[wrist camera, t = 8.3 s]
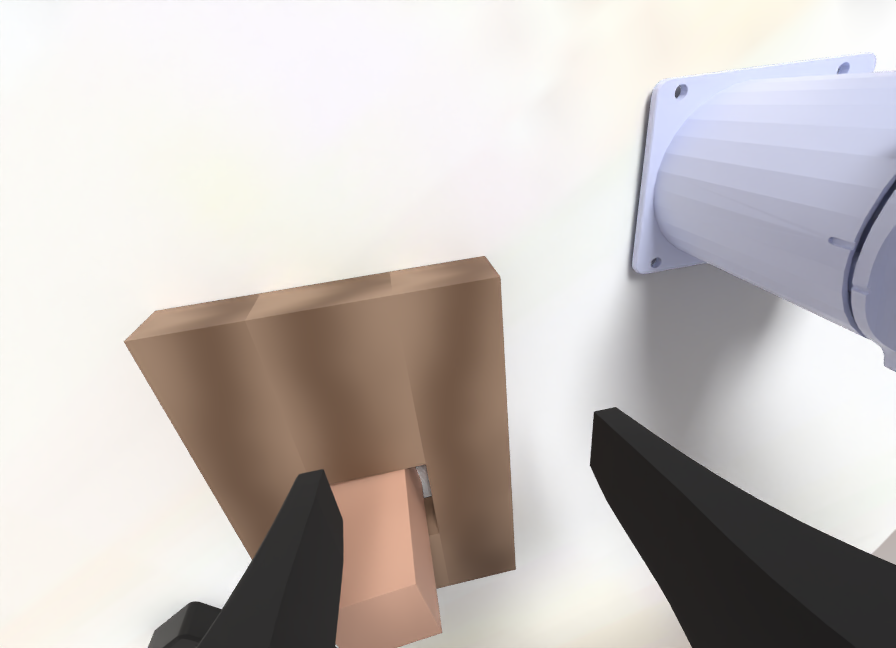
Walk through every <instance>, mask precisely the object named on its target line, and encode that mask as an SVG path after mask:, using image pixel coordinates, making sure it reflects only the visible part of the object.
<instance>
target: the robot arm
mask: <svg viewBox="0 0 896 648" xmlns="http://www.w3.org/2000/svg"><path fill="white" fill-rule="evenodd" d="M875 65H876V56H875V55H874V53H870V52H868V53H858V54H851V55H843V56H836V57H828V58H820V59H813V60H805V61H797V62H790V63H782V64H775V65H767V66H759V67H752V68H744V69H736V70H729V71H721V72H714V73H706V74H698V75H691V76H683V77H675V78H668V79H664V80H661V81H660V82H658V83H657V84H656V86H655V87H654V89H653V92H652V95H651V104H650V113H649V121H648V130H647V138H646V147H645V156H644V164H643V173H642V182H641V190H640V199H639V207H638V216H637V225H636V233H635V242H634V251H633V259H632V268H633V269H634V270H635V271H636V272H638V273H640V274H648V273H653V272H659V271H664V270H670V269H676V268H681V267H687V266H693V265H698V264H704V263H709V264H711V265H713V266H715V267H717V268H719V269H721V270H723V271H725V272H728V273H730V274H732V275H734V276H736V277H738V278H740V279H742V280H745V281H747V282H749V283H751V284H753V285H755V286H757V287H759V288H761V289H764V290H766V291H768V292H770V293H772V294H774V295H776V296H778V297H780V298H783V299H785V300H787V301H789V302H791V303H793V304H795V305H797V306H799V307H802V308H804V309H806V310H808V311H810V312H812V313H814V314H816V315H818V316H821V317H823V318H825V319H827V320H829V321H831V322H833V323H835V324H837V325H840V326H842V327H844V328H846V329H848V330H850V331H852V332H854V333H856V334H859V335H861V336H863V337H865V338H868V339H870V340H872V341H873V342H875V343H876V344H877V345H879V346H880V347H881V348H882V350H883V353H884V366H885V367H887V368H889V369H891V370H893V371H895V372H896V71H884V72H873V71H874V68H875ZM839 67H840V70H839V72H838V74H837V71H838V69H839ZM678 86H680V87H681V92H680V95H679V96H678V98H676V97H675V90H676V88H677V87H678ZM654 258H656V261H655V263H654V264H652V265H651V262H652V260H653V259H654ZM590 466H591V469H592V471H593V473H594V475H595V477H596V479H597V482H598V484H599V486H600V488H601V490H602V492H603V494H604V496H605V498H606V500H607V502H608V504H609V505H610V507H611V509H612V510H613V512H614V514H615V515H616V517H617V519H618V520H619V522H620V523H621V525H622V527H623V528H624V530H625V532H626V533H627V535H628V536H629V538H630V540H631V541H632V543H633V544H634V546H635V548H636V549H637V551H638V552H639V554H640V556H641V557H642V559H643V560H644V562H645V564H646V565H647V567H648V568H649V570H650V572H651V573H652V575H653V576H654V578H655V580H656V581H657V583H658V584H659V586H660V588H661V590H662V591H663V593H664V595H665V597H666V598H667V600H668V602H669V604H670V605H671V607H672V609H673V611H674V613H675V615H676V617H677V619H678V621H679V623H680V625H681V627H682V629H683V631H684V633H685V635H686V637H687V639H688V641H689V642H690V644H691V646H692V648H896V565H895V564H892V563H890V562H888V561H885V560H883V559H881V558H878V557H876V556H874V555H871V554H869V553H867V552H864V551H862V550H860V549H858V548H856V547H854V546H851V545H849V544H847V543H845V542H843V541H841V540H838V539H836V538H834V537H832V536H830V535H828V534H825V533H823V532H821V531H819V530H817V529H815V528H813V527H811V526H809V525H807V524H805V523H803V522H801V521H799V520H797V519H795V518H793V517H791V516H789V515H787V514H785V513H783V512H782V511H780V510H778V509H776V508H774V507H772V506H770V505H768V504H766V503H765V502H763V501H761V500H759V499H757V498H755V497H754V496H752V495H750V494H748V493H746V492H745V491H743V490H741V489H740V488H738V487H736V486H735V485H733V484H731V483H730V482H728V481H726V480H725V479H723V478H721V477H719V476H718V475H716V474H714V473H713V472H711V471H710V470H708V469H706V468H705V467H703V466H702V465H700V464H699V463H697V462H695V461H694V460H692V459H691V458H689V457H688V456H686V455H685V454H683V453H682V452H680V451H679V450H677V449H676V448H674V447H673V446H671V445H670V444H668V443H667V442H665V441H664V440H662V439H661V438H659V437H658V436H657V435H655V434H654V433H652V432H651V431H649V430H648V429H646V428H645V427H644V426H642V425H641V424H639V423H638V422H636V421H635V420H634V419H632V418H631V417H629V416H628V415H626V414H625V413H623V412H622V411H621V410H619V409H618V408H616V407H614V408H609V409H605V410H600V411H595V412H594V419H593V432H592V445H591V458H590ZM343 563H344V539H343V518H342V516H341V513H340V510H339V508H338V505H337V503H336V500H335V497H334V495H333V492H332V490H331V487H330V484H329V482H328V479H327V477H326V474H325V471H324V469H320V470H316V471H311V472H306V473H301V474H299V475H298V476H297V477H296V479H295V481H294V483H293V485H292V487H291V489H290V491H289V493H288V495H287V497H286V499H285V501H284V503H283V505H282V507H281V509H280V511H279V512H278V514H277V516H276V518H275V520H274V522H273V524H272V526H271V527H270V529H269V531H268V533H267V535H266V536H265V538H264V540H263V542H262V544H261V545H260V547H259V549H258V551H257V552H256V554H255V556H254V558H253V560H252V561H251V563H250V565H249V566H248V568H247V570H246V571H245V573H244V575H243V576H242V578H241V580H240V581H239V583H238V584H237V586H236V588H235V589H234V591H233V592H232V594H231V596H230V597H229V599H228V601H227V602H226V604H225V605H224V607H223V609H222V610H221V612H220V613H219V615H218V616H217V618H216V619H215V621H214V622H213V624H212V625H211V627H210V628H209V630H208V631H207V633H206V634H205V636H204V637H203V639H202V640H201V641H200V643H199V644H198V646H197V647H196V648H335V643H336V633H337V623H338V614H339V604H340V594H341V584H342V574H343Z"/></svg>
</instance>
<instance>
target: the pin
mask: <svg viewBox="0 0 896 648" xmlns="http://www.w3.org/2000/svg"><path fill="white" fill-rule="evenodd" d="M330 487H331V490H332V492H333V495H334V497H335V500H336V503H337V505H338V508H339V510H340V513H341V516H342V518H343V539H344V563H343V574H342V584H341V594H340V604H339V614H338V623H337V633H336V645H337V646H338V647H339V648H397V647H400V646H403V645H406V644H409V643H412V642H415V641H418V640H421V639H425V638H428V637H431V636H434V635H437V634H440V633H442V627H441V620H440V613H439V605H438V598H437V591H436V584H435V576H434V569H433V562H432V555H431V547H430V540H429V533H428V526H427V519H426V511H425V504H424V497H423V490H422V482H421V479H420V477H419V475H418V472H417V470H416V468H415V467H411V468H407V469H402V470H397V471H392V472H388V473H383V474H378V475H374V476H369V477H364V478H360V479H355V480H350V481H345V482H341V483H336V484H331V485H330Z"/></svg>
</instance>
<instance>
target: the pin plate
mask: <svg viewBox="0 0 896 648" xmlns="http://www.w3.org/2000/svg"><path fill="white" fill-rule="evenodd" d="M124 343H125V344H126V346H127V348H128V350H129V351H130V353H131V355H132V356H133V358H134V360H135V361H136V363H137V365H138V367H139V368H140V370H141V372H142V373H143V375H144V377H145V378H146V380H147V382H148V384H149V385H150V387H151V389H152V390H153V392H154V394H155V395H156V397H157V399H158V401H159V402H160V404H161V406H162V407H163V409H164V411H165V412H166V414H167V416H168V418H169V419H170V421H171V423H172V424H173V426H174V428H175V429H176V431H177V433H178V435H179V436H180V438H181V440H182V441H183V443H184V445H185V446H186V448H187V450H188V452H189V453H190V455H191V457H192V458H193V460H194V462H195V463H196V465H197V467H198V469H199V470H200V472H201V474H202V475H203V477H204V479H205V480H206V482H207V484H208V486H209V487H210V489H211V491H212V492H213V494H214V496H215V497H216V499H217V501H218V503H219V504H220V506H221V508H222V509H223V511H224V513H225V514H226V516H227V518H228V520H229V521H230V523H231V525H232V526H233V528H234V530H235V531H236V533H237V535H238V537H239V538H240V540H241V542H242V543H243V545H244V547H245V548H246V550H247V552H248V554H249V555H250V557H251V559H252V560H253V558H254V556H255V554H256V552H257V551H258V549H259V547H260V545H261V544H262V542H263V540H264V538H265V536H266V535H267V533H268V531H269V529H270V527H271V526H272V524H273V522H274V520H275V518H276V516H277V514H278V512H279V511H280V509H281V507H282V505H283V503H284V501H285V499H286V497H287V495H288V493H289V491H290V489H291V487H292V485H293V483H294V481H295V479H296V477H297V476H298V475H299V474H301V473H306V472H311V471H316V470H320V469H324V471H325V474H326V477H327V479H328V482H329V484H330V485H331V484H336V483H341V482H345V481H350V480H355V479H360V478H364V477H369V476H374V475H378V474H383V473H388V472H392V471H397V470H402V469H407V468H411V467H416V466H421V465H425V464H426V468H427V473H428V478H429V483H430V488H431V493H432V496H431V497H426V498H424V504H425V511H426V519H427V526H428V533H429V540H430V547H431V555H432V562H433V569H434V576H435V584H436V589H437V588H441V587H445V586H449V585H454V584H458V583H462V582H466V581H470V580H474V579H478V578H483V577H487V576H491V575H495V574H499V573H503V572H507V571H512V570H516V566H515V547H514V528H513V509H512V490H511V471H510V451H509V432H508V413H507V394H506V375H505V356H504V337H503V318H502V298H501V279H500V276H499V274H498V273H497V272H496V270H495V269H494V268H493V266H492V265H491V264H490V262H489V261H488V260H487V258H486V257H485V256H482V257H476V258H470V259H464V260H458V261H452V262H446V263H440V264H434V265H428V266H422V267H416V268H410V269H404V270H398V271H392V272H386V273H380V274H374V275H368V276H362V277H356V278H350V279H344V280H338V281H332V282H326V283H320V284H314V285H308V286H302V287H296V288H290V289H284V290H278V291H272V292H266V293H260V294H254V295H248V296H242V297H236V298H230V299H224V300H218V301H212V302H206V303H200V304H194V305H188V306H182V307H176V308H170V309H164V310H158V311H155V312H154V313H153V314H152V315H151V316H150V317H149V318H148V319H146V320H145V321H144V322H143V323H142V324H141V325H140V326H139V327H138V328H137V329H136V330H135V331H134V332H133V333H132V334H131V335H130V336H129V337H128V338H127V339H126V340H125V341H124Z"/></svg>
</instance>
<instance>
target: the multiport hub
mask: <svg viewBox="0 0 896 648" xmlns="http://www.w3.org/2000/svg"><path fill="white" fill-rule="evenodd" d="M221 610H222V609H219V608H216V607H213V606H210V605H207V604H204V603H201V602H190V603H189V604H187V605H186V606H185V607H184V608H182V609H181V610H180V611H179V612H177V613H176V614H175V615H174V616H172V617H171V618H170V619H169V620H167V621H166V622H165V623H164V624H162V625H161V626H160V627H159V628H158V629H156V630H155V631H154V634H153V636H152V639H151V641H150V644H149V646H148V648H196V647H197V646H198V644H199V643H200V641H201V640H202V639H203V637H204V636H205V634H206V633H207V631H208V630H209V628H210V627H211V625H212V624H213V622H214V621H215V619H216V618H217V616H218V615H219V613H220V612H221ZM335 648H337V647H335Z"/></svg>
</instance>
